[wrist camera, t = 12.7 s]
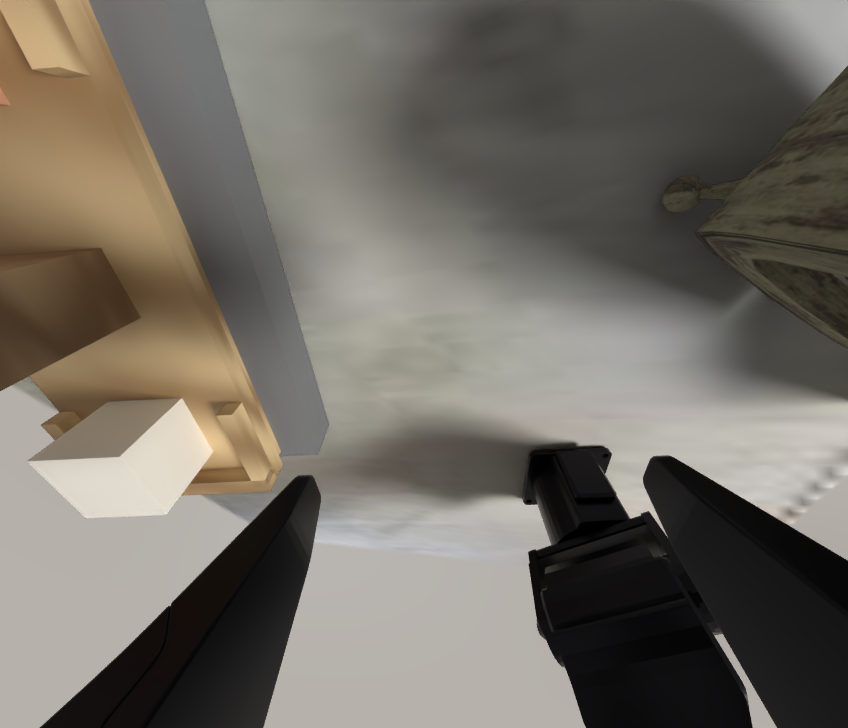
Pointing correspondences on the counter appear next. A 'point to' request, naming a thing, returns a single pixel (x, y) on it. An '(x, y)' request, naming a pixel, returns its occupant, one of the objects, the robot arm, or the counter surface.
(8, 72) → the tray
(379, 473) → the counter surface
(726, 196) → the tabletop clock
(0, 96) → the block
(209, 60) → the grey flat slab
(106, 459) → the block
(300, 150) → the counter surface
